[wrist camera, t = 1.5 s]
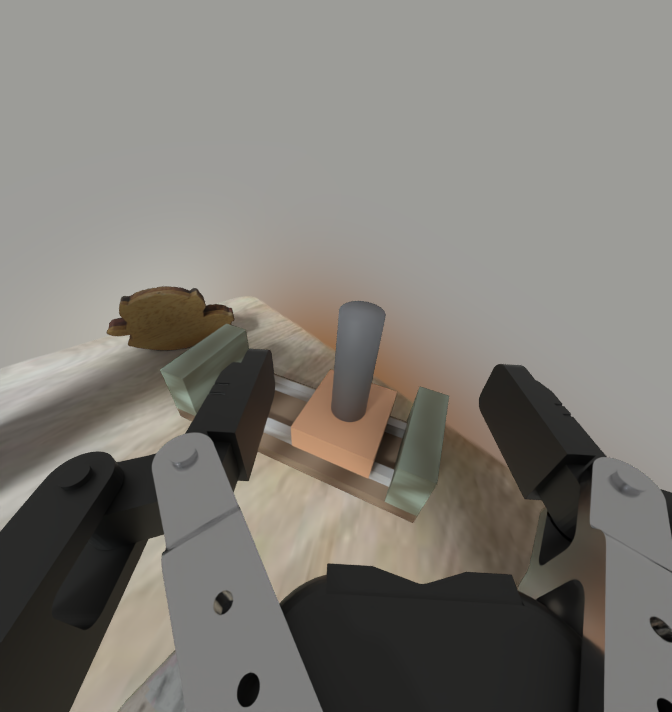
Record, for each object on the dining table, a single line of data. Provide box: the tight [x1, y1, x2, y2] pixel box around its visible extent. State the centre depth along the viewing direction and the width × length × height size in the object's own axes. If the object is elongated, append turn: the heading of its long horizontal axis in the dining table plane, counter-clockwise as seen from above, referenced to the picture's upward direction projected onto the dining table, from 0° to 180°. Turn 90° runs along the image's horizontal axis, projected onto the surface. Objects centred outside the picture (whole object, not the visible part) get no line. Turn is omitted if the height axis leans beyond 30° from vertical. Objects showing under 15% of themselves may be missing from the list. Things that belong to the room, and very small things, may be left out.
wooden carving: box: [107, 287, 234, 350], centre depth 40 cm, size 16×5×10 cm, turn 117°
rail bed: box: [160, 324, 449, 523], centre depth 30 cm, size 28×10×8 cm, turn 67°
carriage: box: [291, 301, 397, 478], centre depth 25 cm, size 8×9×14 cm
